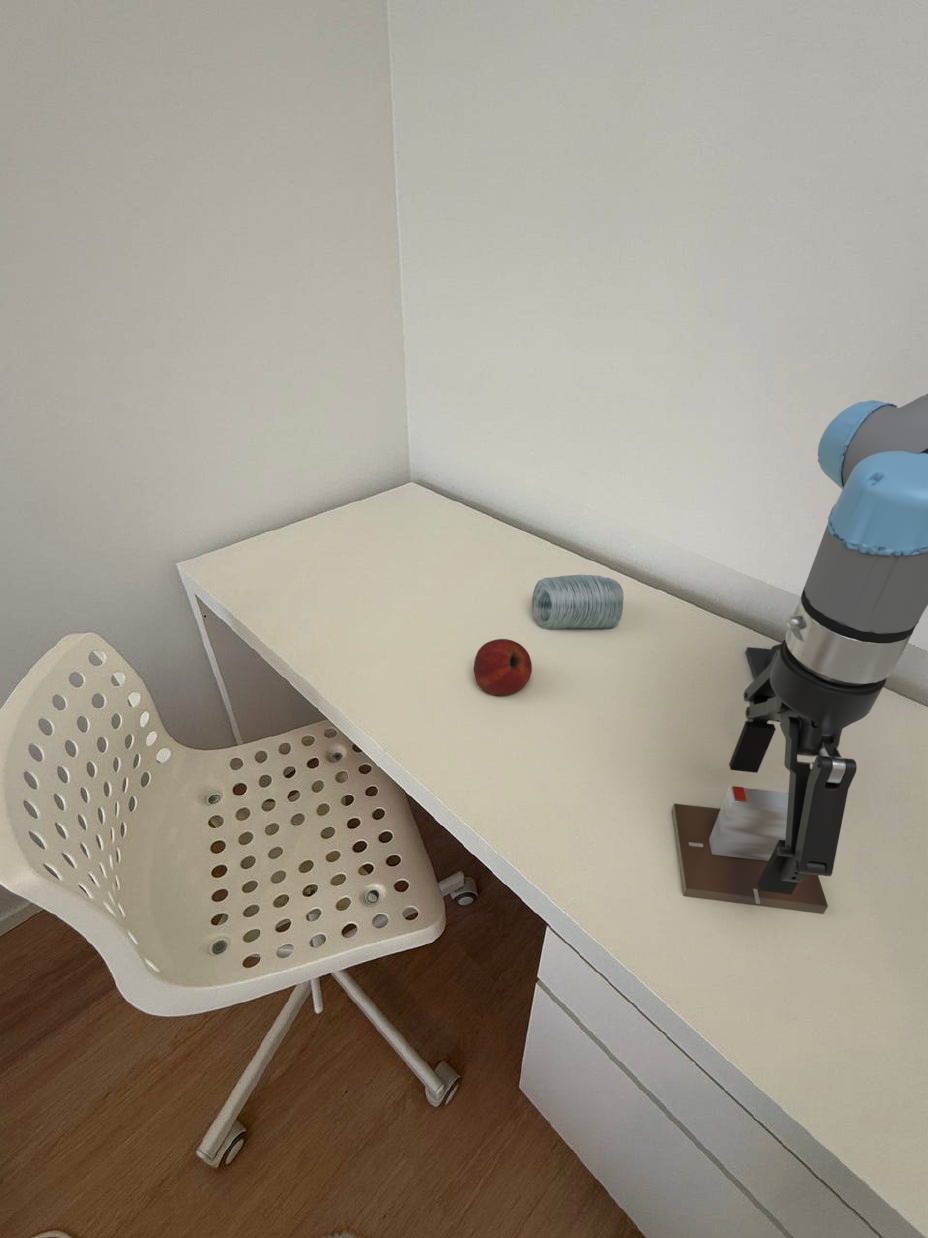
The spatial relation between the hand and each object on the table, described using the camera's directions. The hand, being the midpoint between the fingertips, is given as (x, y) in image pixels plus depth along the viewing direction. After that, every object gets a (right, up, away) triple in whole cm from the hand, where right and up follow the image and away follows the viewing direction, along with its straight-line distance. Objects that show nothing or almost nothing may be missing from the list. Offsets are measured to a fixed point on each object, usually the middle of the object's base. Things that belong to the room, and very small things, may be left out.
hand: (757, 823), depth 62 cm
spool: (-11, +19, +37) cm, 43 cm away
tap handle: (0, -4, +3) cm, 5 cm away
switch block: (+16, +11, +27) cm, 33 cm away
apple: (-23, +10, +26) cm, 36 cm away
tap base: (0, -6, +4) cm, 7 cm away
